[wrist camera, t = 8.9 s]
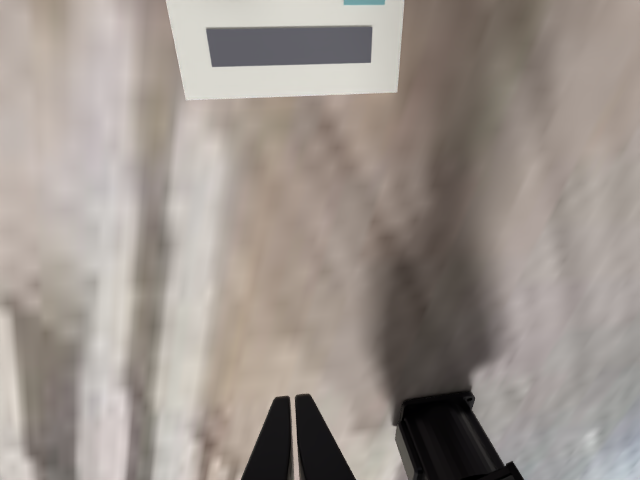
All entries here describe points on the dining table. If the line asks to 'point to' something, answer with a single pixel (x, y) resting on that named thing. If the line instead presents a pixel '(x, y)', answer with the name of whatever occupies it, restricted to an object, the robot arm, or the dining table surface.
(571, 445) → the dining table surface
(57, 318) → the dining table surface
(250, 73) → the label plate
